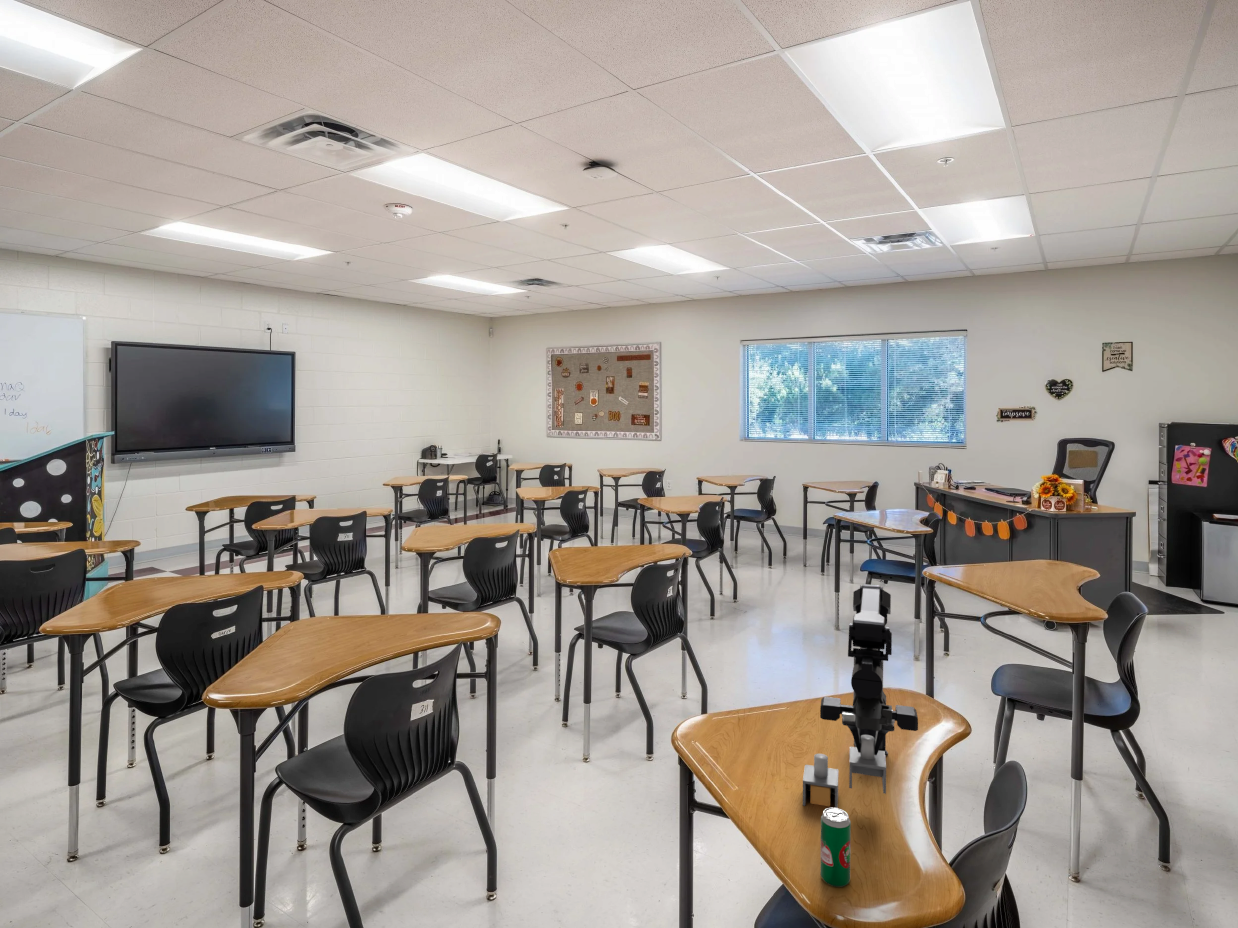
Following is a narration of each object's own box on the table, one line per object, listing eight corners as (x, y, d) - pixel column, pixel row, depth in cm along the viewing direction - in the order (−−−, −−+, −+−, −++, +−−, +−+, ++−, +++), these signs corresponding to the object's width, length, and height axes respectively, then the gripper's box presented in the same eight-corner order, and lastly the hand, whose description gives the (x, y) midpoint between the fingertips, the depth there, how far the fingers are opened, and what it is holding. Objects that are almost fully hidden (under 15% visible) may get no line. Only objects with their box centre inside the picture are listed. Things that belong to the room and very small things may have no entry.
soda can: (816, 870, 124) (816, 806, 123) (843, 868, 124) (843, 805, 123) (826, 889, 118) (827, 823, 118) (855, 887, 119) (855, 821, 118)
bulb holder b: (838, 793, 149) (838, 751, 148) (837, 811, 142) (837, 767, 141) (805, 788, 151) (805, 746, 150) (802, 805, 144) (802, 761, 144)
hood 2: (884, 776, 144) (885, 732, 143) (885, 793, 137) (886, 747, 137) (849, 771, 146) (849, 728, 146) (849, 787, 140) (849, 742, 139)
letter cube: (830, 796, 148) (831, 778, 147) (830, 806, 144) (830, 787, 144) (811, 793, 149) (811, 775, 149) (810, 803, 145) (810, 784, 145)
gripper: (819, 689, 136) (818, 764, 137) (921, 700, 130) (919, 779, 131) (821, 669, 146) (821, 739, 147) (916, 679, 140) (915, 752, 141)
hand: (867, 752), depth 141 cm, fingers closed on hood 2, 3 cm apart
